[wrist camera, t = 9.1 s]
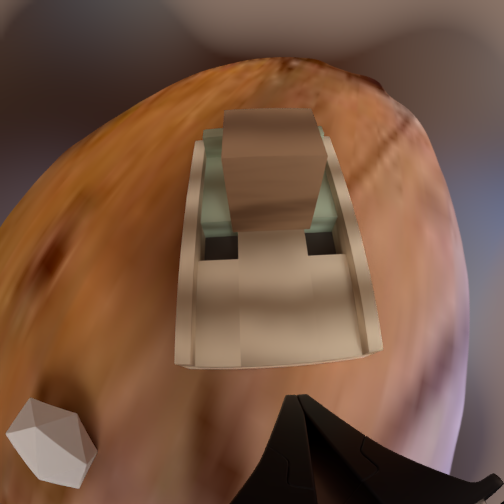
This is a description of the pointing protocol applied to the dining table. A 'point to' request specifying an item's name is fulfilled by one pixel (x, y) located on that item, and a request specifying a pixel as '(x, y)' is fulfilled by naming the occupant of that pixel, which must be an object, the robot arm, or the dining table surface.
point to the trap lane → (271, 279)
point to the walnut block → (272, 168)
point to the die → (52, 443)
